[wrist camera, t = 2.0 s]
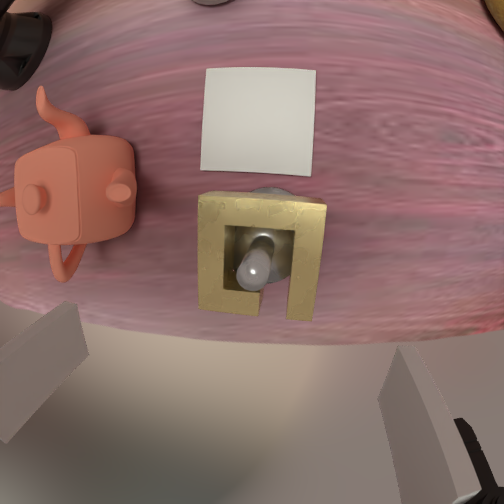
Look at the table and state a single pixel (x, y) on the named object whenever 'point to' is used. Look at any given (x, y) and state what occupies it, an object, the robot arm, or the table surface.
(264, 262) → the stand
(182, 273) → the table surface
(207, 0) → the can
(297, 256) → the link
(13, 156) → the table surface
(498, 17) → the bread
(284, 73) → the mat
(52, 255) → the pot
